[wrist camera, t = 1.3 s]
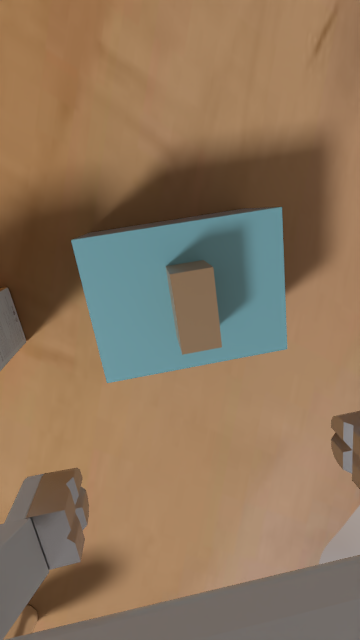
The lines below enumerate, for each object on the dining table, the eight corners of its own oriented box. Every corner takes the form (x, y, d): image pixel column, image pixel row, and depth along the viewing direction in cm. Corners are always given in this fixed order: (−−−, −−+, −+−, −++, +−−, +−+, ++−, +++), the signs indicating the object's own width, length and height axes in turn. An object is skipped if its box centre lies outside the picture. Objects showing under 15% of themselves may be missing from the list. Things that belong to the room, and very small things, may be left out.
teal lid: (76, 238, 25) (59, 244, 20) (271, 207, 26) (304, 206, 21) (109, 372, 29) (102, 406, 24) (277, 340, 30) (306, 366, 25)
